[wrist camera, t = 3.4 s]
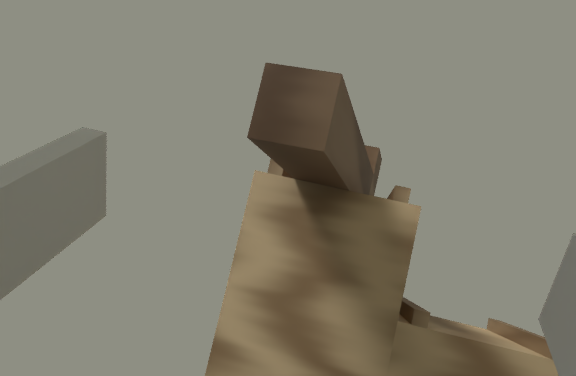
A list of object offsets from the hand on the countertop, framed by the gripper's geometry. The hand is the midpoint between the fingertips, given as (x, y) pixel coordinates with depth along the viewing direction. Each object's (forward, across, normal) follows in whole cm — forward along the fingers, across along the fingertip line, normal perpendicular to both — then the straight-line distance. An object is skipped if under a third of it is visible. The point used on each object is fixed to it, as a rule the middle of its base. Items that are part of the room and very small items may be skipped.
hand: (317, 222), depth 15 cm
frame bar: (+15, -1, -6) cm, 16 cm away
